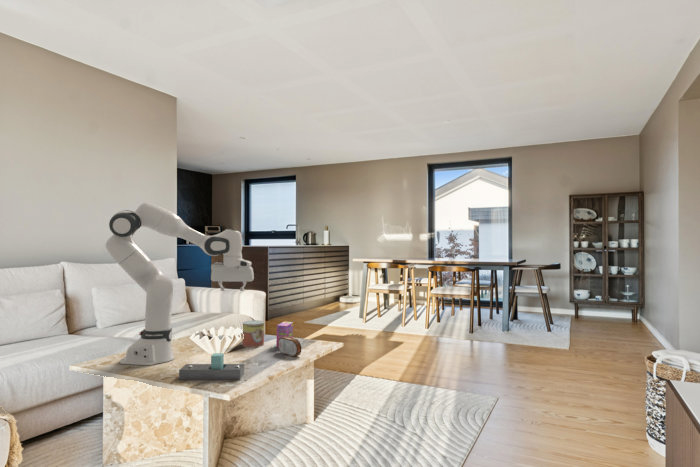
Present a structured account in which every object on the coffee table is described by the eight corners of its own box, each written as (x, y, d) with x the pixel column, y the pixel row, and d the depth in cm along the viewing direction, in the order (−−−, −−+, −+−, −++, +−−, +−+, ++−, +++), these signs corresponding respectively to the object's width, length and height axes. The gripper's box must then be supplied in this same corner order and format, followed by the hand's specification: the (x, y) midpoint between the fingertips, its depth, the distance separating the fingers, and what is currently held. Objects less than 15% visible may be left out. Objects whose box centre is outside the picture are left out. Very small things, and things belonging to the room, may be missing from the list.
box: (286, 348, 218) (286, 325, 219) (276, 347, 219) (276, 325, 220) (293, 343, 229) (293, 321, 229) (283, 343, 230) (283, 321, 230)
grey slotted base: (179, 380, 167) (179, 368, 167) (185, 373, 175) (186, 363, 175) (240, 379, 168) (240, 368, 169) (244, 373, 176) (244, 362, 177)
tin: (301, 357, 202) (302, 339, 203) (296, 358, 200) (297, 340, 200) (281, 351, 212) (282, 334, 213) (276, 352, 210) (277, 335, 210)
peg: (210, 378, 170) (211, 356, 170) (213, 375, 174) (213, 353, 174) (220, 378, 170) (221, 355, 170) (223, 375, 174) (223, 353, 174)
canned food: (249, 348, 217) (249, 325, 217) (238, 344, 226) (238, 322, 226) (267, 345, 225) (268, 322, 225) (257, 341, 233) (257, 319, 233)
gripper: (209, 262, 202) (208, 291, 202) (252, 262, 203) (251, 291, 203) (213, 261, 208) (212, 289, 208) (254, 262, 209) (254, 290, 209)
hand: (232, 290), depth 205 cm, fingers open, 8 cm apart
